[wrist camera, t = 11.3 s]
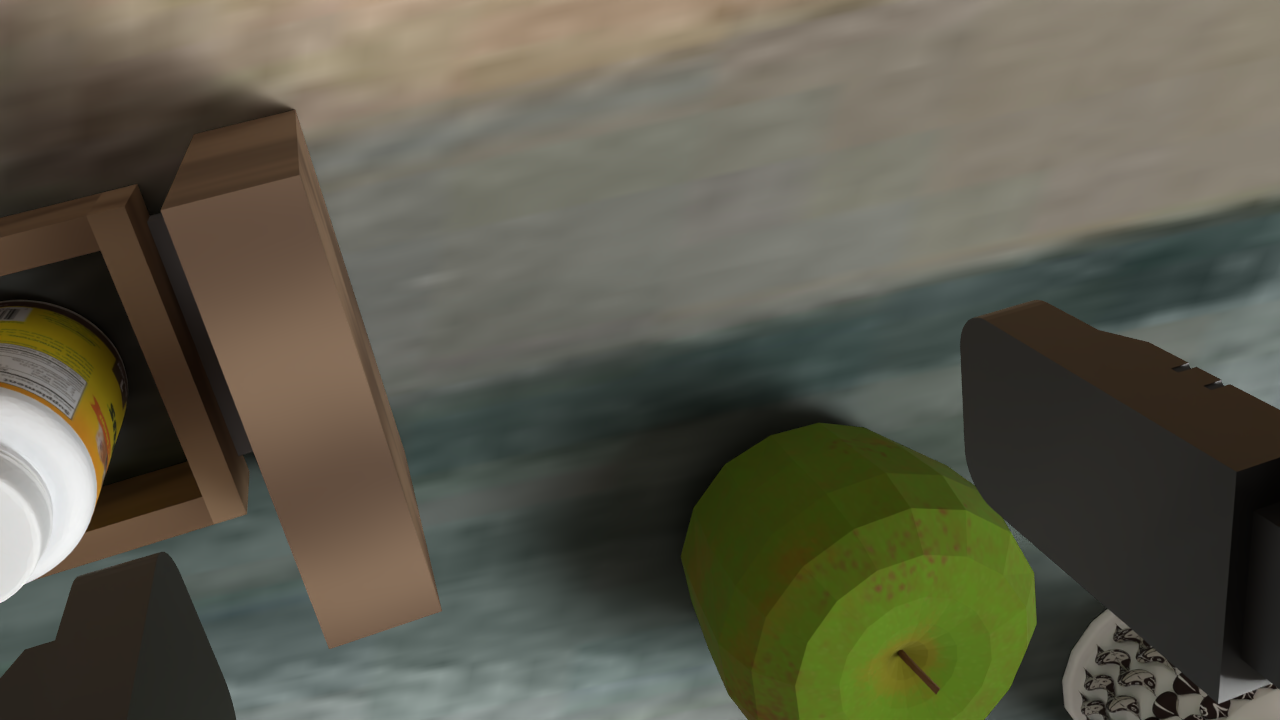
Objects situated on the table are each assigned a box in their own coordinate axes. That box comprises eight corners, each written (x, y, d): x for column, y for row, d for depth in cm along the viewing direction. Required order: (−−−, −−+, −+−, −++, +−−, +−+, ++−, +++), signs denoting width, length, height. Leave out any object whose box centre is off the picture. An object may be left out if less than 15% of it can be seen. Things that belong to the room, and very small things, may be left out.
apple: (906, 362, 43) (1088, 488, 33) (926, 589, 47) (1091, 759, 38) (636, 444, 41) (746, 604, 31) (682, 674, 45) (791, 877, 35)
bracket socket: (-249, 241, 31) (-470, 370, 22) (295, 109, 33) (299, 174, 24) (-56, 593, 35) (-170, 817, 26) (404, 452, 38) (441, 610, 29)
